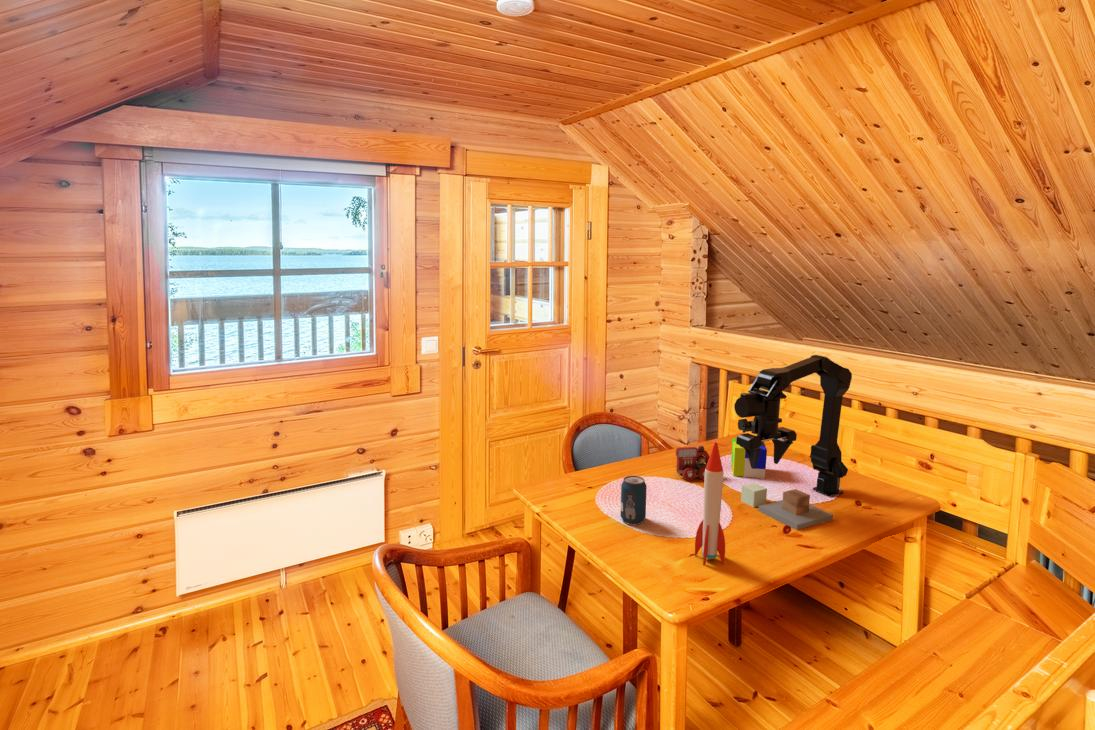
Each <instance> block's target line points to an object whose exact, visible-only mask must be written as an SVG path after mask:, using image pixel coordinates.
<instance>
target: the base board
mask: <svg viewBox="0 0 1095 730" xmlns="http://www.w3.org/2000/svg"><path fill="white" fill-rule="evenodd" d="M782 502H783V499H781V500H777V501H774V502H768V503H766V504H764V505H760V506H758V512H760V513H762V514H764V515H766V516H767V517H770V518H772V519H775V520H776V521H778V522H780V523H782V524H784V525H786V526H788V527H791V528H792V529H795V530H796V531H798V530H802V529H805V528H808V527H813V526H816V525H820V524H824V523H827V522H830V521H834V514H833V513H830V512H828V511H825V510H823V509H821V508H819V507H817V506H814V505H812V504H810V503H809V512H806V513H802V514H798V515H795V514H792V513H790V512H788V511H786V510H784V509H782Z"/></svg>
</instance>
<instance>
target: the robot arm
mask: <svg viewBox="0 0 1095 730" xmlns="http://www.w3.org/2000/svg"><path fill="white" fill-rule="evenodd" d="M813 374H816V375H817V376H819V380H820V381H819V384H820V387H821V389H822V392H823V394H824V395H823V396H824V397H823V407H822V414H821V422H820V432H819V439H818V440H817V442H816V443H815V444H812V445H811V446H810V455H809V458H810V463H812V468H813V470H814V471H815V470H816V471H818V472H817V479H816V486H815V487H812V490H813V491H815V490H816V491H815V492H818V491H819V492H818V493H820V492H821V493H820V494H822V493H823V494H822V495H825V494H826V495H825V496H827V495H828V496H827V497H833V496H837V495H840V494H841V495H842V494H843V493H844V491H843V490H841V489H840V485H841V479H843V478H844V477H846V476H847V475H848V471H849V469H848V467H847V466H846V465H845V464H844V463H843V461H842V460H843V459H842V451H841V448H840V446H839V444H838V437H839V429H840V421H841V414H842V413H841V412H842V411H841V410H842V405H843V404H842V403H843V398H844V395H845V394H846V393H847V392H848V390H850V388H851V387H850V386H851V382H852V378H853V373H852V371H850V369H849V368H847V367H843V366H842V365H840V364H838V363H836V362H834V361H832V360H831V359H830V358H829V357H827V356H824V355H820V354H819V355H818V354H812V355H811V356H810V357H807V358H806V359H803V360H799V361H797V362H795V363H792V364H789V365H786V366H784V367H771V368H770V367H769V368H764V369H762V370H760V371H759V372H758V375H757V377H756V378H755V379H754V381H753V383H752V384H751V386H750V388H749V389H748V391H747V392H741V393H740V396H739V397H738V398H737V399H736V400H735V403H734V404H733V405H734V408H733V409H734V412H735V414H736V416H738V418H741V419H738V420H737V421H738V422H737V429H738V430H739V431H742V434H741V433H740V434H738V435H737V436H736V438H735V439H736V444H738V445H740V447H743V448H744V449H745V450H746V453H747V455H748V458H749V462H750V465H751V468H752V469H755V468H756V465H757V462H758V459H759V455H760V452H761V448H759V447H760V446H761V443H762V442H764V443H765V442H768V441H769V442H770V441H772V443H773V444H772V445H773V463H774V464H775V465H778V464H779V463H780V461H781V459H782V458H783V456H784V455H785V453H786V452H787V450H788V449H789V448H790V447H791V446H792V445H793V443H794V442H795V441H796V442H797V435H798V434H797V432H796V431H795V430H794V429H790V428H789V427H788V428H787V427H785V426H780V427H779V423H782V422H783V418H780V409H781V400H783V399H787V395H786V394H785V393H784V392H783V391H785V390H786V389H788V388H789V387H790V385H791V383H793V382H795V381H798V380H800V379H802V378H806V377H809V376H810V375H813ZM747 418H753V420H748V419H747ZM746 432H747V433H746ZM748 432H751V433H748ZM832 495H833V496H832Z"/></svg>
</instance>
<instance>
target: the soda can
mask: <svg viewBox="0 0 1095 730" xmlns="http://www.w3.org/2000/svg"><path fill="white" fill-rule="evenodd" d="M620 487H621V488H620V517H621V520H622V521H623V522H624V523H625V522H626V523H625V524H627V523H629V524H628V525H633V524H636V525H640V524H642V523H643V522H644V520H645V519H646V515H647V513H646V512H647V484H646V481H645V478H643V477H641V476H640V475H639V476H638V475H628V476H625V477H624V478H623V481H622V483H621V484H620ZM641 522H642V523H641ZM639 523H640V524H639Z"/></svg>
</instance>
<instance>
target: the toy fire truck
mask: <svg viewBox="0 0 1095 730" xmlns="http://www.w3.org/2000/svg"><path fill="white" fill-rule="evenodd" d="M675 455H676V467H675V469H676V473H677V474H679V475H681V476H682V478H683V479H684V480H685V481H688V482H689V481H692V480H694V479H695V477H696V475H697V476H698V478H699V480H700V479H701V480H703V481H704V476H705V469H706V466H707V463H708V460H709V457H710V454H709V453H708V451H706V450H705V447H704V445H699V446H698V447H696V446H683V447H676V449H675Z"/></svg>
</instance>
